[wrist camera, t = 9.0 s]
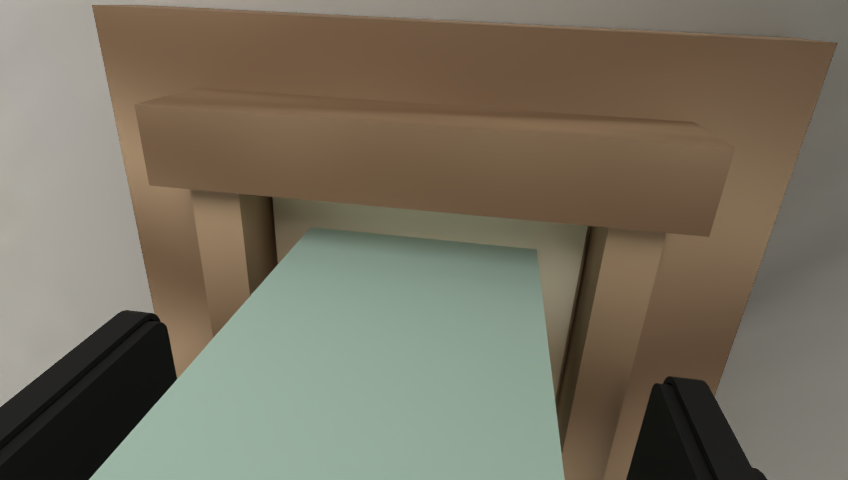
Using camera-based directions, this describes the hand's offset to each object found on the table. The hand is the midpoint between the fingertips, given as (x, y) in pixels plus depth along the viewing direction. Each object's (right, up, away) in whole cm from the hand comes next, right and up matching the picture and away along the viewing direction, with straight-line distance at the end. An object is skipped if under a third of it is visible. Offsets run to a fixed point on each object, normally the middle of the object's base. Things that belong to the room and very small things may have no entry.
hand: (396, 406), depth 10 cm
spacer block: (0, +1, +3) cm, 3 cm away
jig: (0, -4, +7) cm, 8 cm away
